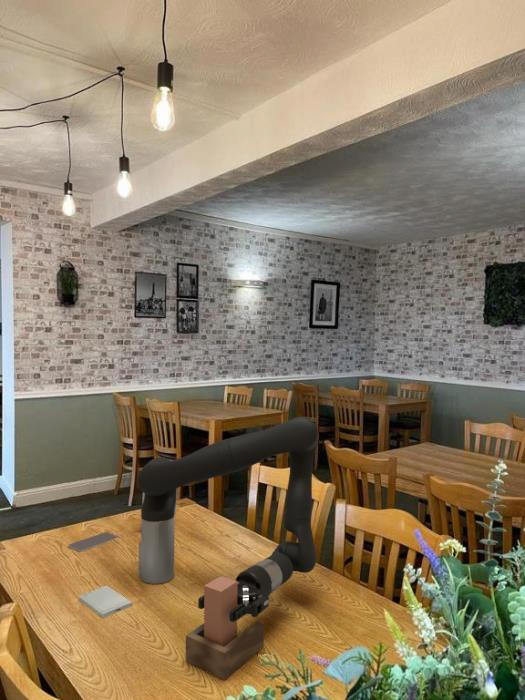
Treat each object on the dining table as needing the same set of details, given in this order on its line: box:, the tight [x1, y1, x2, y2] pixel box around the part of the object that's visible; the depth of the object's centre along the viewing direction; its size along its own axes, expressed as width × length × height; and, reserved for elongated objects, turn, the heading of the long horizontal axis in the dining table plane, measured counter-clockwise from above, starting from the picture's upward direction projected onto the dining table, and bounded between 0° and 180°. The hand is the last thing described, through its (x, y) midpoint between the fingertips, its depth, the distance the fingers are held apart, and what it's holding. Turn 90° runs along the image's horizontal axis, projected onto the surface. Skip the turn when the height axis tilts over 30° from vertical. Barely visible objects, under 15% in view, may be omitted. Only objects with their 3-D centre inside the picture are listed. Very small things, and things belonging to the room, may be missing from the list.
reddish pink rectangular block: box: [203, 575, 238, 647], centre depth 110 cm, size 4×6×16 cm
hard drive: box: [78, 585, 133, 619], centre depth 132 cm, size 2×8×12 cm
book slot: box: [185, 620, 265, 681], centre depth 111 cm, size 10×14×6 cm
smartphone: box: [67, 531, 119, 553], centre depth 171 cm, size 7×1×15 cm
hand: (214, 610), depth 108 cm, fingers open, 8 cm apart
